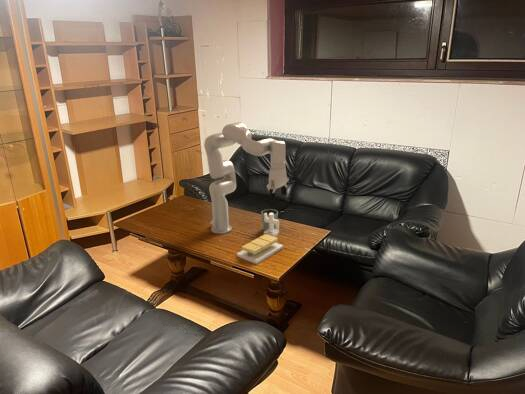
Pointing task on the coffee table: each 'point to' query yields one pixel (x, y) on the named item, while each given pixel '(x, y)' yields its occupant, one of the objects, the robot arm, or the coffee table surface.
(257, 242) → the key
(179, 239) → the coffee table surface
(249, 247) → the key
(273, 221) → the figurine
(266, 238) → the key
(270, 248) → the board
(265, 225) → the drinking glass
